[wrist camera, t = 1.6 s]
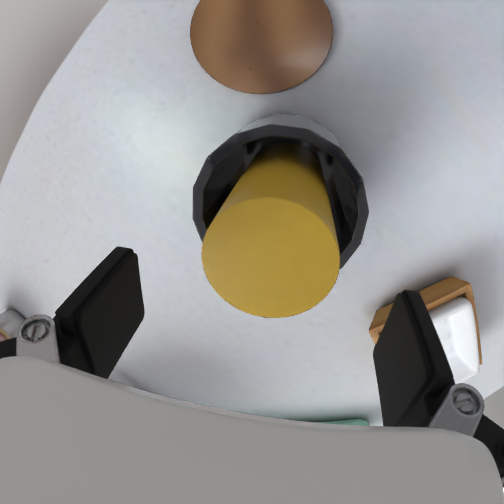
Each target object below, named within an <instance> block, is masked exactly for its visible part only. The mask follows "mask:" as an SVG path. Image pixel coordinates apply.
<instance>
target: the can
mask: <svg viewBox="0 0 504 504" xmlns="http://www.w3.org/2000/svg"><path fill="white" fill-rule="evenodd" d="M201 254H202V264H203V268H204V271H205V274H206V277H207V279H208V281H209V282H210V284H211V286H212V287H213V288H214V290H215V291H216V292H217V293H218V294H219V295H220V296H221V297H222V298H223V299H224V300H225V301H226V302H228V303H229V304H231V305H232V306H234V307H236V308H237V309H239V310H241V311H244V312H246V313H249V314H252V315H256V316H261V317H268V318H281V317H289V316H293V315H297V314H300V313H303V312H305V311H307V310H309V309H311V308H312V307H314V306H316V305H317V304H318V303H319V302H321V301H322V300H323V299H324V298H325V297H326V296H327V295H328V293H329V292H330V291H331V289H332V288H333V286H334V284H335V282H336V280H337V277H338V274H339V269H340V252H339V246H338V241H337V235H336V230H335V225H334V221H333V216H332V211H331V206H330V202H329V197H328V193H327V188H326V184H325V179H324V175H323V171H322V168H321V165H320V163H319V161H318V160H317V158H316V157H315V156H314V155H313V154H312V153H311V152H310V151H309V150H308V149H306V148H305V147H303V146H301V145H298V144H295V143H290V142H279V143H274V144H271V145H268V146H266V147H265V148H263V149H262V150H260V151H259V152H258V153H257V154H256V155H255V156H254V158H253V159H252V161H251V162H250V164H249V165H248V167H247V168H246V170H245V171H244V173H243V175H242V176H241V178H240V179H239V181H238V182H237V184H236V185H235V187H234V188H233V190H232V191H231V193H230V195H229V196H228V198H227V199H226V201H225V202H224V204H223V205H222V207H221V209H220V210H219V212H218V213H217V215H216V217H215V218H214V220H213V221H212V223H211V225H210V226H209V228H208V230H207V232H206V234H205V236H204V240H203V244H202V253H201Z"/></svg>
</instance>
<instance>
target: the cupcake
mask: <svg viewBox="0 0 504 504" xmlns="http://www.w3.org/2000/svg"><path fill="white" fill-rule="evenodd" d="M24 320H25V319H24V318H23V317H22V316H21V315H20V314H19V313H17V312H16V311H14V310H7V311H5V312H4V313H2V314H0V341H4V340H7V339H11V338H14V337H17V330H18V327H19V326H20V324H21V323H22V322H23V321H24Z"/></svg>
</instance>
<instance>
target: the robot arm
mask: <svg viewBox="0 0 504 504" xmlns="http://www.w3.org/2000/svg"><path fill="white" fill-rule="evenodd" d="M55 313H56V316H55V317H54V318H53V319H52V318H51V317H49V316H47V315H34V316H31V317H29V318H27V319H26V320H24V321H23V322H22V323H21V324H20V326H19V327H18V330H17V337H14V338H11V339H7V340H4V341H0V504H504V429H502V428H501V427H500V426H498V425H497V424H496V423H494V422H493V421H491V420H490V419H489V418H488V417H486V416H484V415H483V411H484V400H483V398H482V396H481V394H480V393H479V392H478V390H476V389H475V388H474V387H473V386H470V385H468V384H464V383H458V384H455V381H454V378H453V377H454V376H453V373H452V370H451V368H450V365H449V362H448V359H447V357H446V354H445V352H444V349H443V346H442V344H441V341H440V339H439V336H438V334H437V331H436V329H435V326H434V324H433V322H432V319H431V317H430V315H429V312H428V310H427V308H426V306H425V303H424V301H423V299H422V297H421V294H420V293H419V292H417V291H409V290H404V291H403V292H402V293H399V294H397V296H396V298H395V301H394V303H393V306H392V308H391V311H390V313H389V316H388V318H387V320H386V323H385V325H384V327H383V329H382V332H381V334H380V336H379V338H378V341H377V343H376V345H375V347H374V351H373V358H374V364H375V370H376V376H377V383H378V389H379V396H380V403H381V410H382V418H383V426H359V425H340V424H326V423H314V422H304V421H295V420H287V419H279V418H271V417H264V416H258V415H252V414H245V413H240V412H234V411H229V410H223V409H218V408H213V407H208V406H204V405H199V404H195V403H190V402H186V401H182V400H178V399H174V398H170V397H166V396H162V395H158V394H154V393H151V392H147V391H144V390H140V389H137V388H133V387H130V386H127V385H124V384H120V383H117V382H114V381H111V380H108V377H109V376H110V374H111V372H112V370H113V369H114V367H115V365H116V364H117V362H118V360H119V358H120V357H121V355H122V353H123V352H124V350H125V348H126V347H127V345H128V343H129V342H130V340H131V338H132V337H133V335H134V333H135V332H136V330H137V328H138V327H139V325H140V323H141V322H142V320H143V318H144V304H143V297H142V290H141V282H140V274H139V265H138V257H137V254H136V253H134V252H133V250H132V249H130V248H124V247H116V248H115V249H114V250H113V251H112V252H111V253H110V254H109V255H108V256H107V257H106V258H105V259H104V260H103V261H102V262H101V263H100V264H99V265H98V266H97V267H96V268H95V269H94V270H93V271H92V272H91V273H90V274H89V276H88V277H87V278H86V279H85V280H84V281H83V282H82V283H81V284H80V285H79V286H78V287H77V288H76V289H75V290H74V292H73V293H72V294H71V295H70V296H69V297H68V298H67V299H66V300H65V301H64V303H63V304H62V305H61V306H60V307H59V308H58V309H57V310H56V312H55Z"/></svg>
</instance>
